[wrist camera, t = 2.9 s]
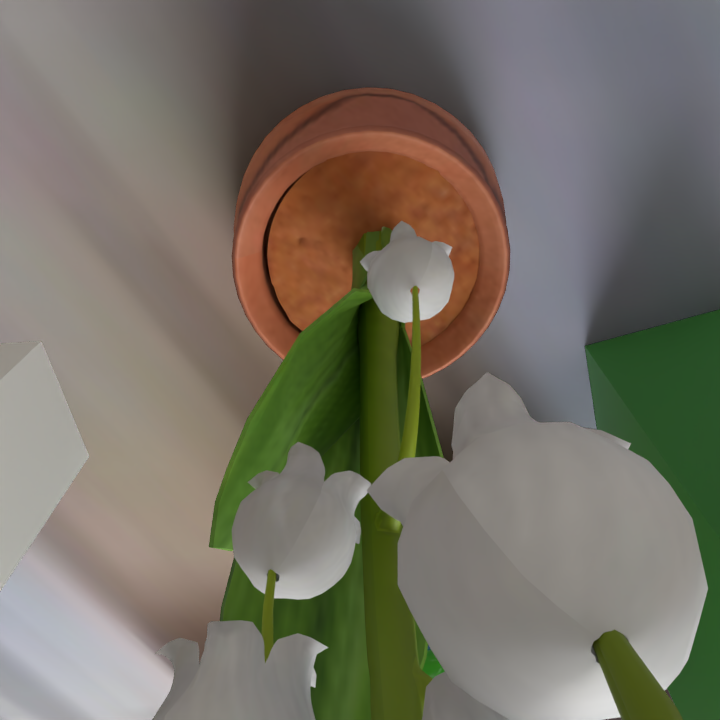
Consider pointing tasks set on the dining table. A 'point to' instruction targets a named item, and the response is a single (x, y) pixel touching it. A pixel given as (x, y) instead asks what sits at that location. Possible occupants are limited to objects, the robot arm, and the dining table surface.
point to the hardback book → (674, 456)
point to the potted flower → (418, 465)
